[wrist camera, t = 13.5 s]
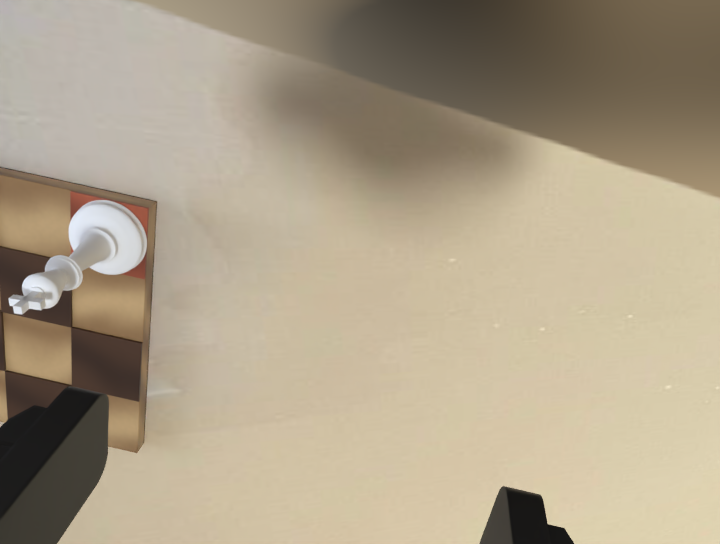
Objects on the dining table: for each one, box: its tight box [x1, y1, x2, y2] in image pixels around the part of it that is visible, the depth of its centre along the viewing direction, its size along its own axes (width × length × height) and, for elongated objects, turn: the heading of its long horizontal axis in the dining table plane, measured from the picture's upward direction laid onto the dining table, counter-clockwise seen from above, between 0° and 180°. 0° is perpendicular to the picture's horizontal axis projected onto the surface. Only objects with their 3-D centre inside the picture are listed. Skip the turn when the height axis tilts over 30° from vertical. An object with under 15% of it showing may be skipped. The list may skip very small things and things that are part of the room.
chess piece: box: [8, 200, 147, 314], centre depth 37 cm, size 5×5×10 cm
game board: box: [0, 167, 156, 453], centre depth 46 cm, size 20×20×1 cm
